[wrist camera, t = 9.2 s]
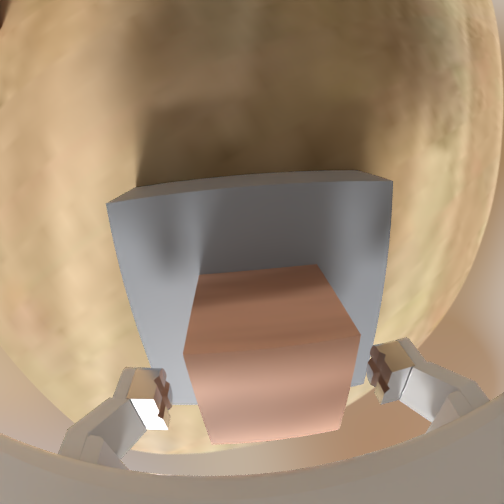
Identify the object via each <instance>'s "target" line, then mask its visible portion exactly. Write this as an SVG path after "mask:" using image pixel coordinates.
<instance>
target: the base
mask: <svg viewBox="0 0 504 504" xmlns="http://www.w3.org/2000/svg"><path fill="white" fill-rule="evenodd" d="M392 194H393V181H391V180H388V179H385V178H382V177H379V176H375V175H372V174H369V173H365V172H362V171H358V170H323V171H295V172H276V173H260V174H246V175H234V176H223V177H213V178H203V179H194V180H186V181H178V182H170V183H162V184H155V185H148V186H141V187H135V188H133V189H132V190H130V191H128V192H126V193H124V194H122V195H121V196H119V197H117V198H115V199H113V200H112V201H110V202H108V203H106V206H107V212H108V217H109V222H110V227H111V232H112V237H113V241H114V246H115V250H116V254H117V258H118V263H119V267H120V271H121V274H122V278H123V282H124V286H125V289H126V293H127V296H128V300H129V303H130V306H131V310H132V313H133V316H134V319H135V322H136V326H137V329H138V332H139V335H140V338H141V340H142V343H143V346H144V349H145V352H146V355H147V357H148V360H149V363H150V365H151V368H163V369H164V370H165V372H166V375H167V377H166V381H167V382H168V383H170V386H171V388H172V393H173V402H172V405H198V403H197V400H196V397H195V394H194V391H193V387H192V384H191V381H190V378H189V374H188V371H187V368H186V364H185V361H184V357H183V350H184V345H185V340H186V335H187V330H188V325H189V320H190V315H191V310H192V305H193V301H194V296H195V291H196V287H197V282H198V278H199V275H203V274H215V273H227V272H238V271H249V270H261V269H271V268H282V267H292V266H303V265H313V264H317V265H318V267H319V268H320V270H321V271H322V273H323V274H324V276H325V278H326V279H327V281H328V282H329V284H330V285H331V287H332V289H333V290H334V292H335V293H336V295H337V297H338V298H339V300H340V301H341V303H342V305H343V306H344V308H345V309H346V311H347V313H348V314H349V316H350V318H351V319H352V321H353V323H354V324H355V326H356V328H357V329H358V331H359V333H360V334H361V337H360V343H359V348H358V353H357V358H356V363H355V368H354V373H353V377H352V382H351V386H350V387H352V386H356V385H361V384H363V383H364V379H365V376H366V372H367V370H366V368H367V363H368V361H369V360H370V350H371V348H372V346H373V342H374V337H375V333H376V328H377V323H378V317H379V312H380V306H381V300H382V294H383V288H384V281H385V274H386V266H387V258H388V249H389V239H390V227H391V213H392Z"/></svg>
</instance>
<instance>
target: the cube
mask: <svg viewBox="0 0 504 504" xmlns="http://www.w3.org/2000/svg"><path fill="white" fill-rule="evenodd" d="M360 337H361V334H360V333H359V331H358V329H357V328H356V326H355V324H354V323H353V321H352V319H351V318H350V316H349V314H348V313H347V311H346V309H345V308H344V306H343V305H342V303H341V301H340V300H339V298H338V297H337V295H336V293H335V292H334V290H333V289H332V287H331V285H330V284H329V282H328V281H327V279H326V278H325V276H324V274H323V273H322V271H321V270H320V268H319V267H318V265H317V264H313V265H303V266H292V267H282V268H271V269H261V270H249V271H238V272H227V273H215V274H203V275H199V278H198V282H197V287H196V291H195V296H194V301H193V305H192V310H191V315H190V320H189V325H188V330H187V335H186V340H185V345H184V350H183V357H184V361H185V364H186V368H187V371H188V374H189V378H190V381H191V384H192V387H193V391H194V394H195V397H196V400H197V403H198V406H199V409H200V412H201V415H202V418H203V421H204V424H205V427H206V429H207V432H208V435H209V438H210V440H211V443H212V444H236V443H250V442H262V441H271V440H280V439H286V438H294V437H301V436H307V435H313V434H318V433H323V432H328V431H333V430H338V429H339V428H340V425H341V421H342V417H343V414H344V410H345V406H346V402H347V398H348V394H349V390H350V386H351V382H352V377H353V373H354V368H355V363H356V358H357V353H358V348H359V343H360Z"/></svg>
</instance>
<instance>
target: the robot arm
mask: <svg viewBox="0 0 504 504" xmlns="http://www.w3.org/2000/svg"><path fill="white" fill-rule="evenodd" d="M370 355H371V357H372V358H371V359H370V360H369V361H368V363H367V368H366V370H367V377H368V380H369V383H370V384H371V385H372V386H374V387H376V389H375V395H376V397H377V399H378V401H379V403H380V404H384V403H389V402H392V401H396V400H399V399H400V401H401V402H403V403H404V404H405V405H407V406H408V407H410V408H411V409H413V410H414V411H416V412H417V413H419V414H420V415H421V416H423V417H424V418H426V419H427V420H429V421H430V422H432V424H431V425H430V427H429V428H428V430H427V432H426V433H425V434H423V435H420V436H418V437H415V438H412V439H410V440H407V441H405V442H402V443H399V444H396V445H393V446H390V447H387V448H384V449H381V450H378V451H375V452H372V453H368V454H364V455H361V456H357V457H353V458H350V459H346V460H342V461H337V462H333V463H328V464H324V465H319V466H313V467H307V468H302V469H296V470H289V471H281V472H273V473H264V474H252V475H236V476H185V475H168V474H156V473H147V472H139V471H131V470H129V469H128V468H127V467H126V466H125V464H123V462H122V461H121V459H122V458H123V457H124V455H125V454H126V453H127V452H128V451H129V450H130V449H131V448H132V446H133V445H134V444H135V443H136V442H137V441H138V440H139V439H140V437H141V436H142V435H143V434H144V433H145V432H146V431H147V430H146V429H157V430H168V427H169V421H170V414H169V412H168V410H169V409H170V408H171V407H172V402H173V393H172V388H171V386H170V383H168V382H167V381H166V377H167V375H166V372H165V370H164V369H163V368H133V367H125V368H124V369H123V371H122V374H121V376H120V379H119V382H118V384H117V387H116V390H115V392H114V395H113V398H108V399H107V400H105V401H104V402H103V403H101V404H100V405H99V406H98V407H96V408H95V409H94V410H92V411H91V412H90V413H88V414H87V415H86V416H84V417H83V418H82V419H80V420H79V421H78V422H76V423H75V424H74V425H73V426H71V427H70V428H69V429H67V432H66V434H65V437H64V439H63V442H62V444H61V447H60V450H59V452H58V454H55V453H52V452H48V451H46V450H43V449H40V448H36V447H34V446H31V445H29V444H26V443H23V442H21V441H18V440H16V439H13V438H11V437H9V436H6V435H3V434H2V433H0V504H504V392H503V393H502V394H500V395H499V396H497V397H496V398H494V399H492V400H491V401H490V400H489V399H488V398H487V396H486V395H485V393H484V392H483V391H482V390H481V388H480V387H479V386H478V384H477V383H476V382H475V381H473V380H471V379H469V378H466V377H464V376H462V375H459V374H457V373H455V372H453V371H450V370H448V369H446V368H443V367H441V366H439V365H437V364H434V363H432V362H426V360H425V359H424V358H423V357H422V355H421V354H420V352H419V351H418V350H417V348H416V347H415V346H414V345H413V343H412V342H411V341H410V339H409V338H407V337H406V338H402V339H398V340H395V341H390V342H386V343H382V344H378V345H373V346H372V348H371V350H370Z"/></svg>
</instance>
